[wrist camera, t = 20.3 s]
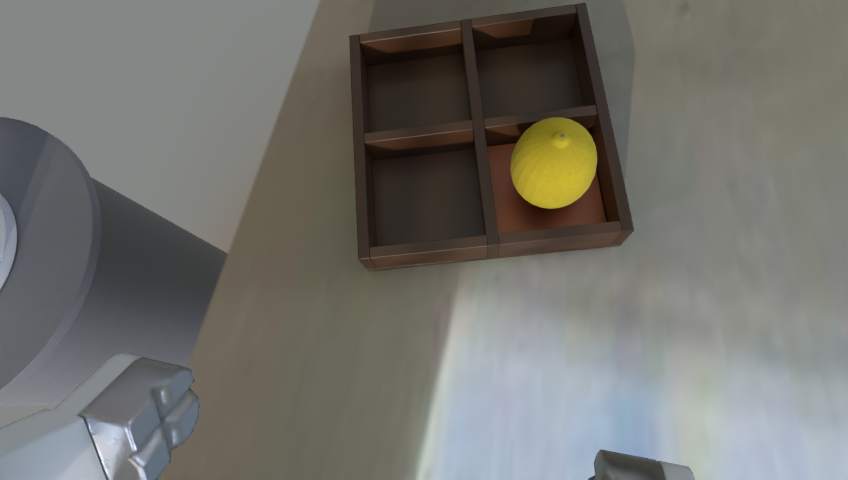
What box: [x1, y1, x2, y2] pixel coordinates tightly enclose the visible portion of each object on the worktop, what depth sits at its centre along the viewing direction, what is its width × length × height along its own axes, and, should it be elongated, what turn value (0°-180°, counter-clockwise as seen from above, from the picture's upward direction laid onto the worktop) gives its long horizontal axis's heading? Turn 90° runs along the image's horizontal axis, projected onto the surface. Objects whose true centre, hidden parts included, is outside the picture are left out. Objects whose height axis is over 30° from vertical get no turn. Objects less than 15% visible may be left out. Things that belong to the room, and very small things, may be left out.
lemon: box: [510, 117, 597, 209], centre depth 34 cm, size 6×6×8 cm
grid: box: [349, 3, 634, 271], centre depth 38 cm, size 18×18×4 cm
